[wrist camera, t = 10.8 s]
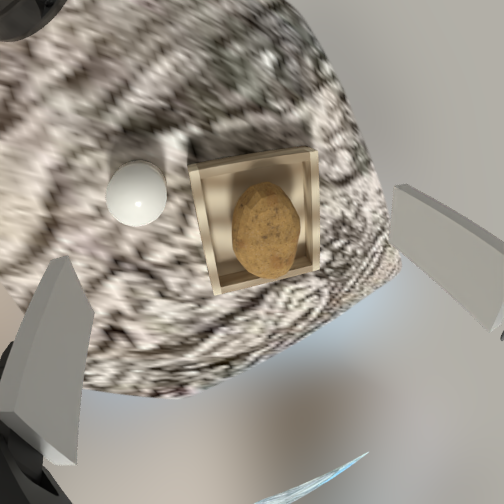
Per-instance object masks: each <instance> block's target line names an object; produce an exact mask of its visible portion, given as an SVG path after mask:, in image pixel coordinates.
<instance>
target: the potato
mask: <svg viewBox="0 0 504 504" xmlns="http://www.w3.org/2000/svg"><path fill="white" fill-rule="evenodd" d="M300 228H301V226H300V217H299V215H298V213H297V211H296V209H295V207H294V206H293V204H292V202H291V200H290V198H289V197H288V196H287V194H286V193H285V192H284V191H283V190H282V189H281V187H279V186H277V185H275V184H273V183H271V182H261V183H258V184H255V185H252V186H250V187H249V188H248V189H247V190H246V191H245V192H244V193H243V194H242V195H241V196H240V197H239V199H238V201H237V204H236V206H235V208H234V212H233V219H232V247H233V251H234V253H235V255H236V257H237V259H238V260H239V262H240V263H241V264H242V265H243V267H244V268H245V269H246V270H247V271H248V272H250V273H252V274H254V275H256V276H258V277H260V278H264V279H276V278H279V277H281V276H283V275H285V274H287V272H288V271H289V269H290V268H291V266H292V265H293V262H294V259H295V255H296V251H297V245H298V240H299V236H300Z"/></svg>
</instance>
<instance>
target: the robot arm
mask: <svg viewBox="0 0 504 504" xmlns="http://www.w3.org/2000/svg"><path fill="white" fill-rule="evenodd" d="M66 1H67V0H0V41H3V42H13V41H18V40H21V39H24V38H26V37H29V36H31V35H32V34H34V33H36V32H37V31H39V30H40V29H42V28H43V27H44V26H45V25H46V24H48V23H49V22H50V21H51V20H52V19H53V18H54V17H55V16H56V15H57V13H58V12H59V11H60V10H61V8H62V7H63V5H64V4H65V2H66ZM388 242H389V243H390V244H391V245H392V246H393V247H395V248H396V249H397V250H398V251H400V252H401V253H402V254H403V255H404V256H406V257H407V258H408V259H409V260H410V261H411V262H413V263H414V264H415V265H416V266H417V267H419V268H420V269H421V270H422V271H423V272H424V273H426V274H427V275H428V276H429V277H430V278H431V279H432V280H433V281H435V282H436V283H437V284H438V285H439V286H440V287H441V288H442V289H443V290H445V291H446V292H447V293H448V294H449V295H450V296H451V297H452V298H453V299H454V300H455V301H456V302H458V303H459V304H460V305H461V306H462V307H463V308H464V309H465V310H466V311H467V312H468V313H469V314H470V315H471V316H472V317H473V318H474V319H475V320H476V321H477V322H478V323H479V324H480V325H482V327H484V328H485V329H486V331H487V332H489V333H490V332H491V331H493V330H494V329H495V328H497V327H498V326H500V325H501V323H502V321H503V319H504V242H503V241H502V240H500V239H498V238H497V237H496V236H494V235H493V234H491V233H489V232H488V231H487V230H485V229H484V228H482V227H480V226H479V225H477V224H476V223H474V222H473V221H471V220H469V219H468V218H466V217H464V216H463V215H461V214H459V213H458V212H456V211H455V210H453V209H451V208H449V207H448V206H446V205H444V204H442V203H441V202H439V201H437V200H435V199H434V198H432V197H430V196H428V195H426V194H425V193H423V192H421V191H419V190H417V189H415V188H414V187H411V186H410V185H408V184H403V185H396V186H394V188H393V202H392V213H391V223H390V232H389V240H388ZM94 314H95V313H94V311H93V309H92V307H91V305H90V303H89V301H88V299H87V297H86V294H85V292H84V290H83V288H82V286H81V284H80V282H79V279H78V277H77V275H76V273H75V270H74V268H73V266H72V263H71V261H70V259H69V256H68V255H67V256H64V257H60V258H56V259H53V260H51V262H50V263H49V265H48V267H47V269H46V271H45V273H44V275H43V277H42V279H41V281H40V283H39V285H38V287H37V289H36V291H35V294H34V296H33V298H32V300H31V302H30V304H29V307H28V309H27V311H26V314H25V316H24V318H23V321H22V323H21V325H20V328H19V330H18V333H17V335H16V338H15V340H14V341H12V342H11V343H10V344H9V345H8V347H7V348H6V350H5V351H4V352H3V354H2V356H1V359H0V504H72V503H71V501H70V500H69V499H68V497H67V496H66V495H65V493H64V492H63V491H62V489H61V488H60V487H59V485H58V484H57V482H56V481H55V480H54V478H53V477H52V475H51V474H50V472H49V471H48V470H47V469H46V468H45V467H44V466H43V465H42V464H43V456H44V457H45V458H46V459H48V460H49V461H51V462H52V463H53V464H55V465H77V444H78V427H79V415H80V404H81V394H82V386H83V379H84V371H85V364H86V358H87V352H88V346H89V340H90V334H91V329H92V324H93V319H94ZM503 340H504V331H503V333H502V335H501V341H503Z"/></svg>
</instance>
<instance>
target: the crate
mask: <svg viewBox="0 0 504 504" xmlns="http://www.w3.org/2000/svg"><path fill="white" fill-rule="evenodd" d="M187 167H188V172H189V178H190V183H191V189H192V194H193V199H194V205H195V210H196V215H197V220H198V225H199V230H200V235H201V240H202V244H203V249H204V254H205V259H206V263H207V268H208V273H209V277H210V282H211V285H212V289H213V293H214V295H219V294H223V293H227V292H231V291H236V290H240V289H244V288H248V287H252V286H256V285H260V284H264V283H268V282H272V281H276V280H280V279H284V278H288V277H292V276H296V275H300V274H304V273H308V272H312V271H315V270H319V269H320V203H319V166H318V151H317V150H315V149H312V148H310V147H308V146H299V147H291V148H284V149H276V150H269V151H263V152H256V153H250V154H244V155H238V156H232V157H226V158H221V159H215V160H210V161H205V162H199V163H194V164H190V165H187ZM261 182H271V183H273V184H275V185H277V186H279V187H281V189H282V190H283V191H284V192H285V193H286V194H287V196H288V197H289V198H290V200H291V202H292V204H293V206H294V207H295V209H296V211H297V213H298V215H299V217H300V226H301V228H300V236H299V240H298V245H297V251H296V255H295V259H294V262H293V265H292V266H291V268H290V269H289V271H288V272H287V274H285V275H283V276H281V277H279V278H276V279H264V278H260V277H258V276H256V275H254V274H252V273H250V272H248V271H247V270H246V269H245V268H244V267H243V265H242V264H241V263H240V262H239V260H238V259H237V257H236V255H235V253H234V251H233V247H232V219H233V212H234V208H235V206H236V204H237V201H238V199H239V197H240V196H241V195H242V194H243V193H244V192H245V191H246V190H247V189H248V188H249V187H250V186H252V185H255V184H258V183H261Z"/></svg>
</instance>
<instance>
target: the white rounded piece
mask: <svg viewBox="0 0 504 504" xmlns="http://www.w3.org/2000/svg"><path fill="white" fill-rule="evenodd" d="M166 199H167V189H166V180H165V177H164V175H163V173H162V172H161V170H160V169H159V168H158V167H157V166H155V165H154V164H152V163H150V162H148V161H144V160H134V161H130V162H128V163H125V164H124V165H122V166H121V167H120V168H119V169H118V170H117V171H116V172H115V174H114V176H113V177H112V179H111V180H110V182H109V184H108V187H107V190H106V204H107V207H108V209H109V211H110V213H111V214H112V216H113V217H114V218H115V219H117V220H118V221H119V222H121V223H123V224H125V225H129V226H143V225H147V224H149V223H151V222H153V221H154V220H155V219H157V218H158V217H159V216H160V214H161V213H162V211H163V210H164V207H165V204H166Z"/></svg>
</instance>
